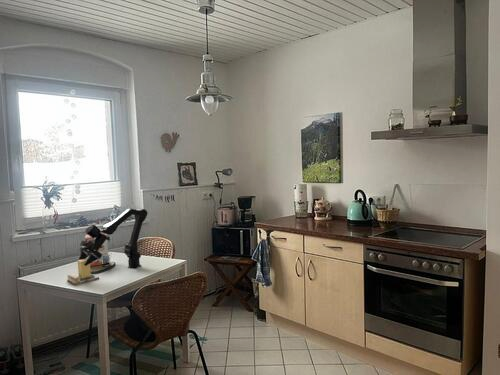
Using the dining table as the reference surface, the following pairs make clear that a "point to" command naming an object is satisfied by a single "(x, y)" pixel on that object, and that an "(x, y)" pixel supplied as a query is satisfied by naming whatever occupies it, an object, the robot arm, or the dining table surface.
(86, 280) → the flat tray
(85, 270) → the pillar
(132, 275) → the dining table surface
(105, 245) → the cracker box
